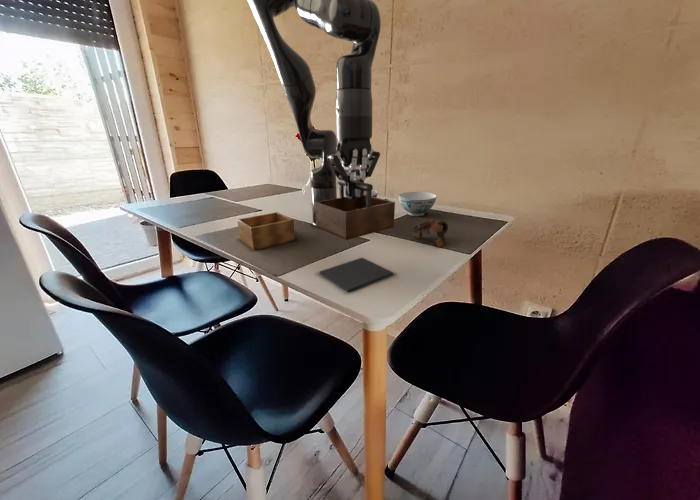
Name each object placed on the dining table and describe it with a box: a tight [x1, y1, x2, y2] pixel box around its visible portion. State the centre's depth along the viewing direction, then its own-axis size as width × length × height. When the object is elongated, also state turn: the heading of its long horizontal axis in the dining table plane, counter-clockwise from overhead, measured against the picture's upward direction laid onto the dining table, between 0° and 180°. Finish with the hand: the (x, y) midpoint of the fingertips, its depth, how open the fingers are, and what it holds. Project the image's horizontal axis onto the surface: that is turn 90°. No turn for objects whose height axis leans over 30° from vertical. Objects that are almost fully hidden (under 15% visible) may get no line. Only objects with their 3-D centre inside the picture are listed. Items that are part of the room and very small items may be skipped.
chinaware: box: [398, 191, 437, 217], centre depth 128 cm, size 15×15×8 cm
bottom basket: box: [236, 211, 296, 251], centre depth 101 cm, size 14×12×7 cm
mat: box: [319, 257, 394, 293], centre depth 78 cm, size 14×12×1 cm
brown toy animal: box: [412, 218, 449, 248], centre depth 98 cm, size 12×10×8 cm
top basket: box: [315, 178, 396, 241], centre depth 72 cm, size 14×12×11 cm
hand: (354, 197), depth 71 cm, fingers closed on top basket
